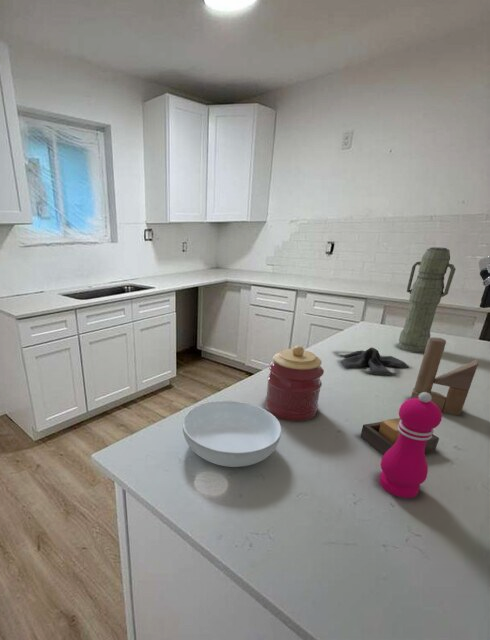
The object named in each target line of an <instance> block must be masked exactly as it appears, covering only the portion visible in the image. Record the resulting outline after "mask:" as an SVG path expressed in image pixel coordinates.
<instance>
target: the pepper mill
mask: <svg viewBox="0 0 490 640" xmlns="http://www.w3.org/2000/svg"><path fill="white" fill-rule="evenodd" d="M431 398H432V397H431V395H430V394H429V393H427V392H422V393H420V394H419V398H412V399H410V398H409V399H406V400H404V401H403V402H402V403H401V405H400V407H399V409H398V416H399V417H398V418H401V421H400V422H399V426H398V430H399V437H398V439H397V441H396V442H395V444H394V445H393V446H392V447H391V448H390V449H389V450H388V451H387V452H386V453H385V454H384V455H382V458H381V460H380V469H381V472H380V474H379V478H378V483H379V485H380V487H381V488H382V489H384V491H386V492H387V493H389V494H391V495H394V496H395V497H396V496H397V497H400V498H403V499H411V498H415V497H417V496H418V493H419V491H420V487H421V484H423V483H424V482H425V481H426V480H427V478H428V472H429V469H428V468H429V467H428V462H427V457H426V455H425V454H426V453H425V445H426V442H427V440H429V439H431V438H432V434H433V435H434V432H435V431H434V429H436V428H437V427H438V426H439V425H440V424H441V422H442V417H443V412H442V411H441V410H440V408H439V407H438V406H437V405H436V404H435V403H433V402H432V401H430V400H431Z"/></svg>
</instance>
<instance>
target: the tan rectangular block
mask: <svg viewBox="0 0 490 640" xmlns="http://www.w3.org/2000/svg"><path fill="white" fill-rule="evenodd" d="M400 421H401V418H400V417H397V418H391V419H384V420H381V421H380V422H381V425H380V429H379V433H380V434H381V435H383V436H384V437H385V438H387V439H388V440H389V441H391V442H392V443H395V442H396V441H397V439H398V437H399V430H398V426H399V422H400Z"/></svg>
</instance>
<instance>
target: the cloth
mask: <svg viewBox="0 0 490 640" xmlns="http://www.w3.org/2000/svg"><path fill="white" fill-rule="evenodd" d="M339 357H340V358H343V359H341V360H340V363H341V364H342V366H343V368H344V369H345V370H349V369H357V368H359V369H360V368H363V370H364V371H363V372H364V373H365V374H366V375H377V376H378V375H379V376H389V377H390V376H391V377H396V376H397V372H391V371H390V370H388V369H387V368H396V367H397V368H402V369H406V368H409V365H408V364H407V363H406V362H405V361H404V360H401V359H399V358H398V357H397V358H396V357H394V356H392V355H385V356H381V354H380V352H379V350H378V349H376V347H375V348H374V347H369V348H368V349H366V350H363V349H362V350H356V351H353V352H350V353H345V354H339ZM367 368H370V370H368V371H365V370H366V369H367Z"/></svg>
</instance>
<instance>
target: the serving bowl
mask: <svg viewBox="0 0 490 640" xmlns="http://www.w3.org/2000/svg"><path fill="white" fill-rule="evenodd" d="M181 427H182V435H183V437H184V439H185V441H186V443H187V445H188V447H189V448H190V449H191V450H192V451H193V452H194V453H195V454H196V455H197V456H199V458H201V459H203V460H205V461H207V462H209V463H211V464H214V465H218V466H222V467H229V468H238V467H239V468H241V467H247V466H252V465H255V464H258V463H260V462H262V461H264V460H266V458H268V457H269V456H271V454H273V452H274V451H275V450H276V448H277V446H278V444H279V443H280V440H281V437H282V433H283V431H282V430H283V429H282V425H281V423H280V421H279V420H278V417H276V416H274V415H272V414H271V413H270V412H269V411H268V410H267V409H265V408H263V407H260V406H258V405H256V404H252V403H249V402H244V401H239V400H213V401H207V402H203V403H201V404H200V403H199V404H198V405H195V406H194V407H192V408H190V409H189V410H188V411H187V412H186V413H185V414H184V416H183V417H182V421H181Z"/></svg>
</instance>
